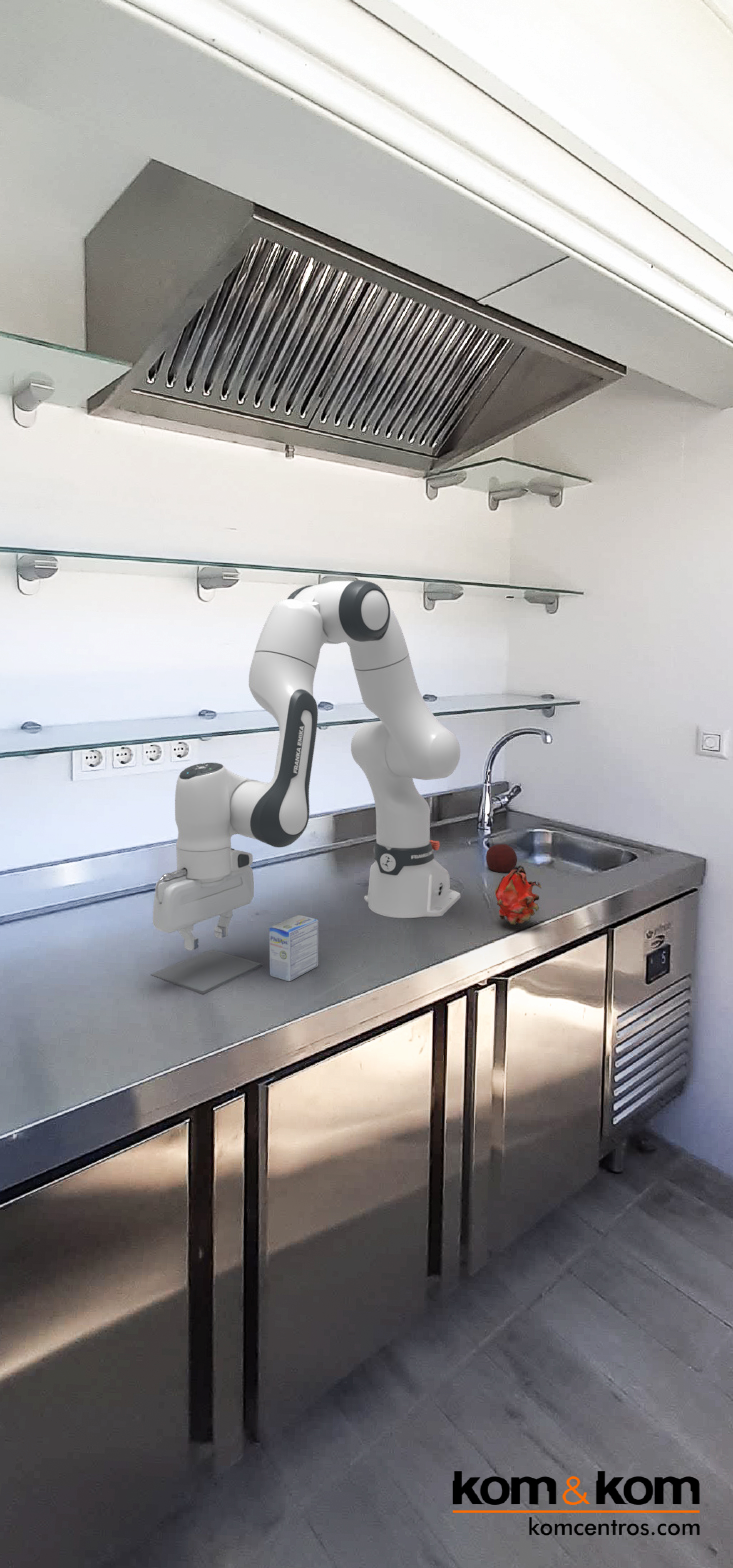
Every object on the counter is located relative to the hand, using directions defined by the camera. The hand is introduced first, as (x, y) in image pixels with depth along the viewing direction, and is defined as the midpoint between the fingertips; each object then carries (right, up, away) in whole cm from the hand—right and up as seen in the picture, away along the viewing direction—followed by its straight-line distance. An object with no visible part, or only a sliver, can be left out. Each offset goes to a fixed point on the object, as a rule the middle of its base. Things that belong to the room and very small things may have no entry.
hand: (206, 942), depth 138 cm
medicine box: (+15, -5, +1) cm, 16 cm away
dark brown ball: (+60, +5, +64) cm, 87 cm away
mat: (0, -5, +1) cm, 5 cm away
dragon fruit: (+56, -2, +25) cm, 61 cm away
